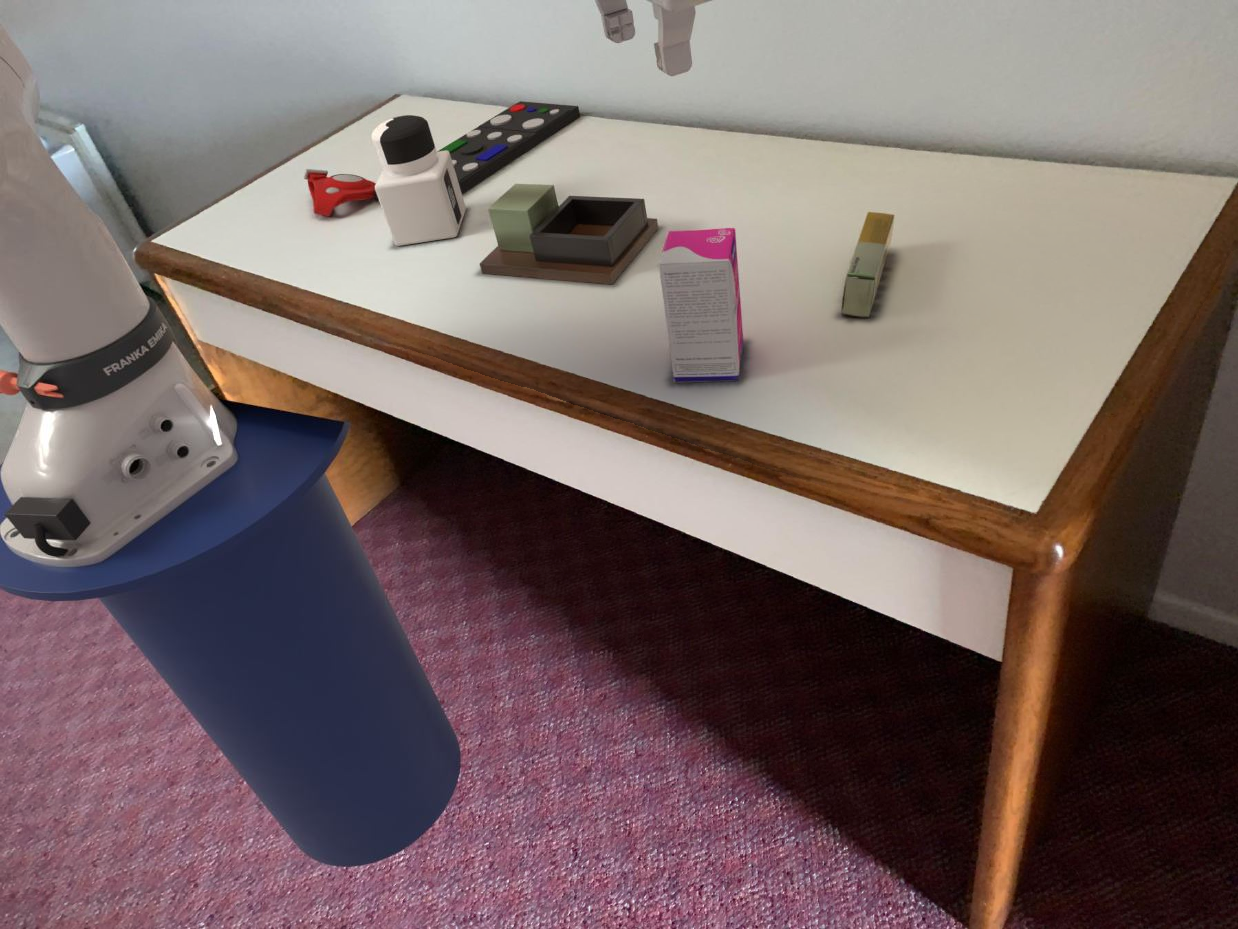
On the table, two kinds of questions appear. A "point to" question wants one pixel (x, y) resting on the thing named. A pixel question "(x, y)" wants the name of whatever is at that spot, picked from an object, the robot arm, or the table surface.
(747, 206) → the table surface
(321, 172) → the red plastic curved piece
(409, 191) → the container
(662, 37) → the robot arm
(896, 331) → the table surface
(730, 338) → the supplement box
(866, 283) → the medication box
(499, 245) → the desk organizer
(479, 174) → the remote control
